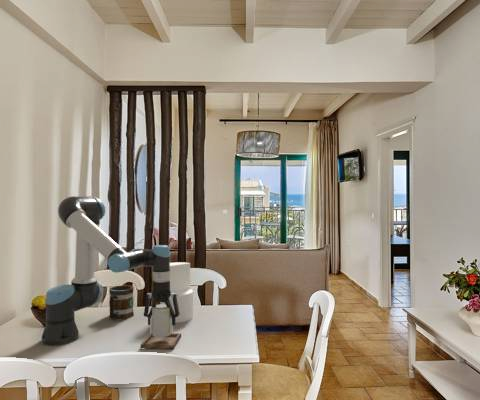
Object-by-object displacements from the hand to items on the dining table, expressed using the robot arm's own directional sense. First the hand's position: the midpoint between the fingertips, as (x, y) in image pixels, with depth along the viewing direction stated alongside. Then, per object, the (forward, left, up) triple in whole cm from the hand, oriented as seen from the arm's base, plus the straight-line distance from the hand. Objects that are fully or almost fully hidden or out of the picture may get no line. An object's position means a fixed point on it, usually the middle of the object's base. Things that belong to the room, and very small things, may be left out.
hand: (161, 332), depth 160 cm
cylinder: (-2, +35, -5) cm, 35 cm away
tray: (0, 0, -5) cm, 5 cm away
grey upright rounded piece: (0, 0, -1) cm, 1 cm away
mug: (-33, +33, -5) cm, 47 cm away
